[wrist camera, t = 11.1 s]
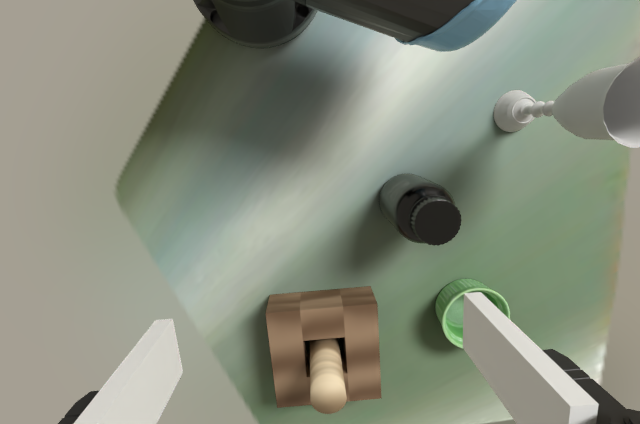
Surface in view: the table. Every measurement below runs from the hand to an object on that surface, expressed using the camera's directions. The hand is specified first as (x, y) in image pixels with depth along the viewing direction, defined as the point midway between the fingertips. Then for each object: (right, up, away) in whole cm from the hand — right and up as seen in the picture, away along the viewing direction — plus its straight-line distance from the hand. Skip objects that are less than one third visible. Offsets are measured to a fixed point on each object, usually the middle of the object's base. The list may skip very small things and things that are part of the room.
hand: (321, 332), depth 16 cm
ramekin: (+20, -8, +34) cm, 41 cm away
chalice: (+24, +18, +28) cm, 41 cm away
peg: (0, -12, +34) cm, 37 cm away
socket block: (+1, -12, +34) cm, 37 cm away
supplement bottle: (+11, +7, +30) cm, 33 cm away
